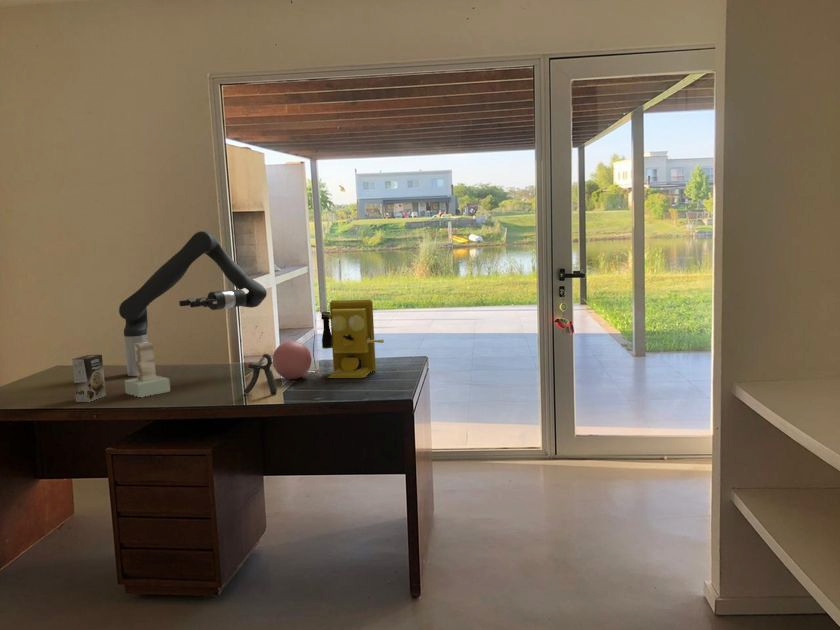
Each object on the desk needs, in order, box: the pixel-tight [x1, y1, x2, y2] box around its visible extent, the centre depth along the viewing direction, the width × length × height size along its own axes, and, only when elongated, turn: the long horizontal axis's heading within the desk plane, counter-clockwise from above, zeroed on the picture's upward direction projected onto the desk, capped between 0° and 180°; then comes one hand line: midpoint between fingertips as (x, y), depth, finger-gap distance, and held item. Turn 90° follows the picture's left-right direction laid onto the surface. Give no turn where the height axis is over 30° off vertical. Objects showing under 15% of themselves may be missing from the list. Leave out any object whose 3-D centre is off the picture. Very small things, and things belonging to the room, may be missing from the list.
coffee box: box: [71, 354, 107, 403], centre depth 260 cm, size 9×6×16 cm
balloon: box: [272, 340, 313, 380], centre depth 284 cm, size 15×20×15 cm
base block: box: [124, 374, 171, 398], centre depth 268 cm, size 12×12×5 cm
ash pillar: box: [134, 341, 157, 382], centre depth 267 cm, size 5×5×14 cm
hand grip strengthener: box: [243, 353, 278, 395], centre depth 257 cm, size 2×13×15 cm, turn 78°
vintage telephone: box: [312, 299, 384, 379], centre depth 283 cm, size 31×14×30 cm, turn 80°
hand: (185, 304), depth 277 cm, fingers open, 8 cm apart
